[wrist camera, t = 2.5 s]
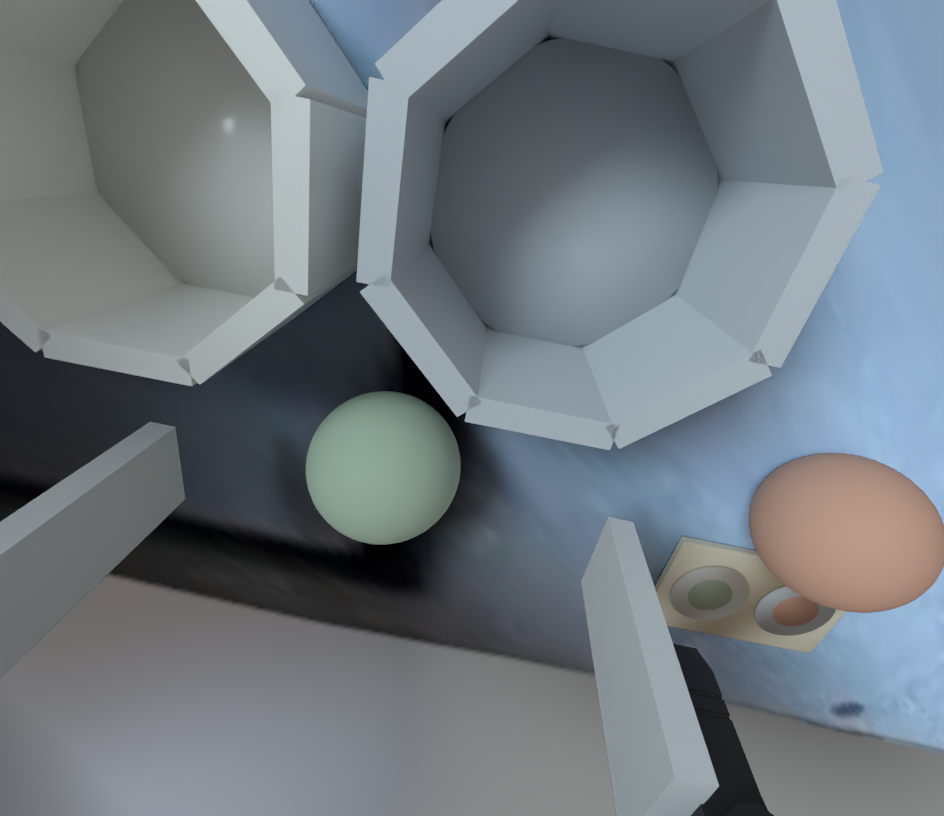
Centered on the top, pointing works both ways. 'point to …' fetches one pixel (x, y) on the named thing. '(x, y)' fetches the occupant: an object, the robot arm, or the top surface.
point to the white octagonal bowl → (172, 177)
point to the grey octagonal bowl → (609, 202)
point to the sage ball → (383, 467)
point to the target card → (737, 598)
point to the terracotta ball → (847, 532)
